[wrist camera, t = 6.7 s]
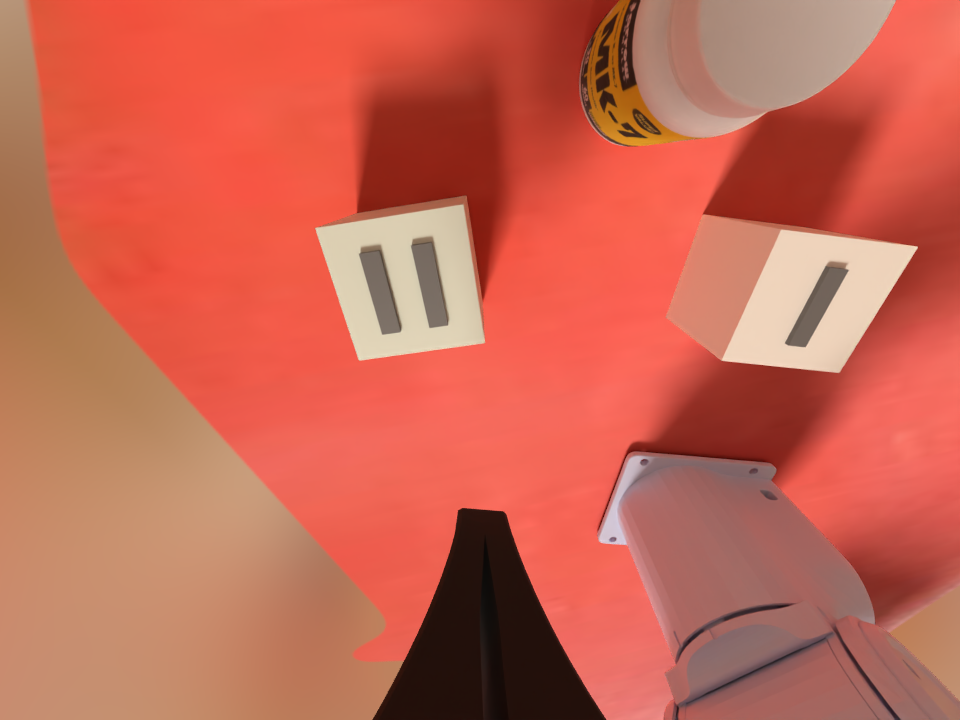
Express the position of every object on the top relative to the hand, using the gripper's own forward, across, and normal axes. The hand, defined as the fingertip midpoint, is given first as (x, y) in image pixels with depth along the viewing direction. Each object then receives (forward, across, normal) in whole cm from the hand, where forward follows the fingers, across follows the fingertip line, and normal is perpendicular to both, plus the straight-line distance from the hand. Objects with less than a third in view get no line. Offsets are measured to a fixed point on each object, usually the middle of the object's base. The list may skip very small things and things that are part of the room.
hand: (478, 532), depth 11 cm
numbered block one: (+10, -12, -7) cm, 17 cm away
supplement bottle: (+11, -5, -14) cm, 18 cm away
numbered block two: (+10, +3, -6) cm, 12 cm away
